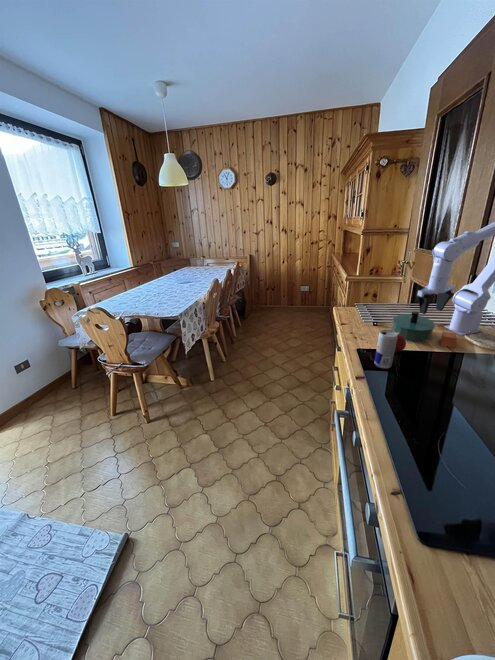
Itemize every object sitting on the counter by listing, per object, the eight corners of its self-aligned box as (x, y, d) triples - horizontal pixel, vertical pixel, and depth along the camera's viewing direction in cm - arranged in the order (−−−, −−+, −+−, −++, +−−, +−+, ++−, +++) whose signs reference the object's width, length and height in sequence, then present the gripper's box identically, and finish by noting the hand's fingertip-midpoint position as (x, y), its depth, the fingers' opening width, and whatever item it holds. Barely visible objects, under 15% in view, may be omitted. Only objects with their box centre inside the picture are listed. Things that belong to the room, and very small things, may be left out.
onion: (405, 357, 99) (410, 337, 95) (388, 356, 100) (392, 336, 96) (401, 348, 104) (405, 329, 100) (384, 347, 105) (388, 328, 101)
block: (440, 341, 107) (443, 331, 105) (453, 343, 105) (456, 333, 103) (440, 345, 104) (443, 336, 102) (453, 348, 102) (456, 338, 100)
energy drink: (377, 358, 99) (382, 328, 93) (393, 363, 96) (400, 332, 90) (372, 365, 95) (377, 334, 90) (388, 371, 92) (395, 338, 87)
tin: (411, 324, 120) (414, 313, 118) (438, 338, 108) (441, 327, 106) (384, 330, 117) (386, 319, 115) (409, 345, 105) (412, 333, 103)
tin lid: (413, 314, 118) (416, 303, 116) (443, 329, 106) (447, 316, 104) (384, 320, 115) (386, 308, 113) (411, 335, 103) (414, 323, 101)
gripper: (446, 271, 106) (437, 304, 112) (414, 276, 103) (406, 310, 109) (463, 276, 100) (453, 311, 106) (430, 281, 97) (421, 317, 103)
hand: (430, 311), depth 107 cm, fingers open, 7 cm apart
